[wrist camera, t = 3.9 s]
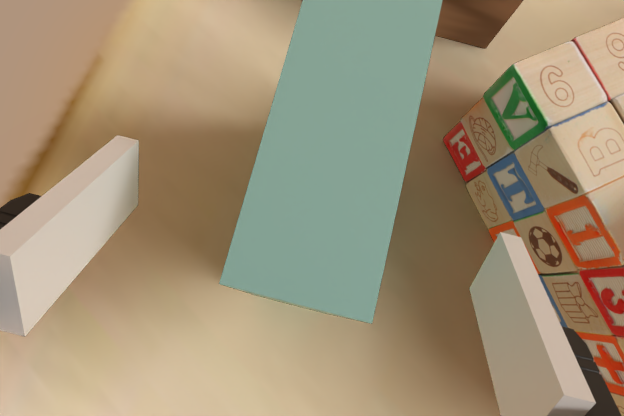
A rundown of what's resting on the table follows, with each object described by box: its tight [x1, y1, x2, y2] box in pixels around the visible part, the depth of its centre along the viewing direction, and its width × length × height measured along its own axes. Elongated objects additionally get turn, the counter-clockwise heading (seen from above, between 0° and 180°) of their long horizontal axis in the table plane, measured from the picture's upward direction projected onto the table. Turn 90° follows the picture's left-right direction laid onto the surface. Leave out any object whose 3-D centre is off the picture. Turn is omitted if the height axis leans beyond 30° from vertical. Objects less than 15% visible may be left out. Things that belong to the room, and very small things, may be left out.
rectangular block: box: [219, 0, 443, 324], centre depth 19 cm, size 4×10×14 cm, turn 166°
